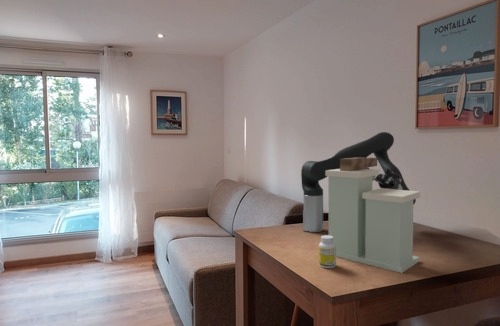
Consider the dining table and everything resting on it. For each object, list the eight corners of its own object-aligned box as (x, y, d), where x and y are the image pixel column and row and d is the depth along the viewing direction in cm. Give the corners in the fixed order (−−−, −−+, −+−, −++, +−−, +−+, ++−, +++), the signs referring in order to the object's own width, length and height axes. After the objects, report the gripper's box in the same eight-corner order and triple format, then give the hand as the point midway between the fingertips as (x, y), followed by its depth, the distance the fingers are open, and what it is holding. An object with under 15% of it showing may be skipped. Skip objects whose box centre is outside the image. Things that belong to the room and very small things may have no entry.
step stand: (401, 273, 117) (403, 175, 115) (325, 253, 137) (325, 170, 135) (419, 261, 127) (420, 171, 125) (346, 245, 148) (346, 167, 146)
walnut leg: (350, 171, 130) (350, 159, 130) (339, 170, 133) (339, 158, 133) (378, 167, 146) (378, 156, 145) (368, 166, 149) (368, 156, 149)
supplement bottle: (323, 261, 129) (323, 233, 128) (338, 265, 125) (338, 236, 124) (316, 266, 124) (316, 237, 124) (331, 269, 121) (331, 239, 120)
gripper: (377, 177, 166) (362, 161, 156) (408, 179, 156) (395, 162, 146) (373, 192, 164) (358, 176, 153) (405, 195, 154) (391, 179, 143)
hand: (376, 169), depth 150 cm, fingers open, 8 cm apart
